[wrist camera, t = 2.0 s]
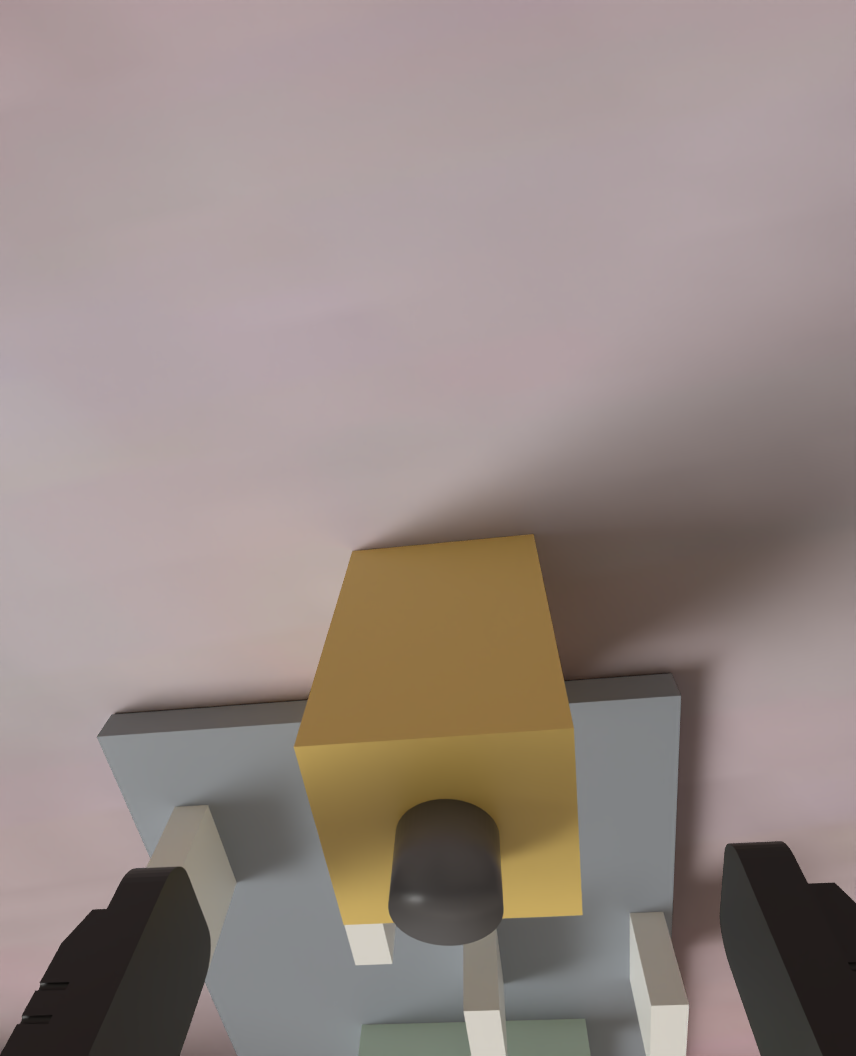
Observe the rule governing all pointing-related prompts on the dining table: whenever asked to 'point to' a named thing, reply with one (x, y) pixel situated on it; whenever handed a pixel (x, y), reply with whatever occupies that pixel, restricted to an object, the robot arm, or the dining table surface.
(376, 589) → the yellow drawer
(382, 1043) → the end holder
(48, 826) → the dining table surface
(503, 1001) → the white blocks
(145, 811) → the board
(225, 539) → the dining table surface
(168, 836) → the white blocks
